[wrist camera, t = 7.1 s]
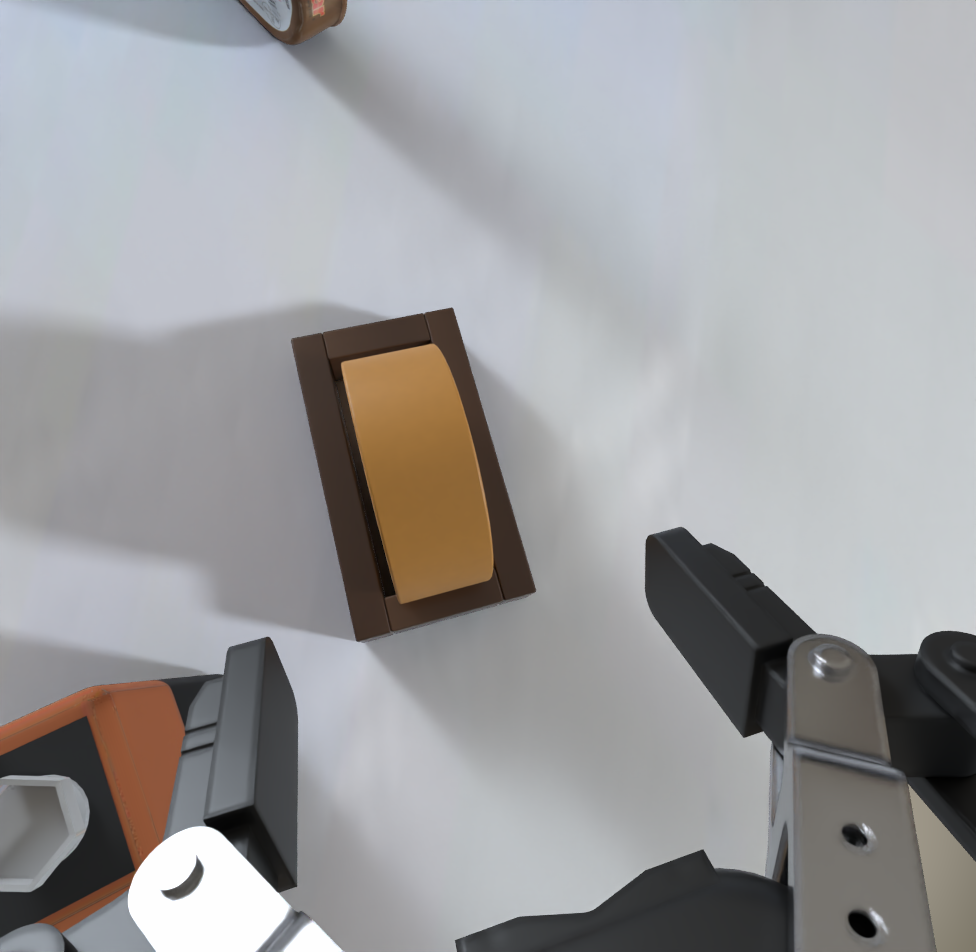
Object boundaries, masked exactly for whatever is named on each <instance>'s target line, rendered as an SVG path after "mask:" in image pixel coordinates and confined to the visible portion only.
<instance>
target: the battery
mask: <svg viewBox="0 0 976 952" xmlns="http://www.w3.org/2000/svg"><path fill="white" fill-rule="evenodd" d="M223 676H224V675H220V674H213V675H203V676H192V677H182V678H172V679H161V680H151V681H141V682H131V683H120V684H110V685H100V686H93V687H89V688H86V689H84V690H81V691H79V692H77V693H74V694H72V695H70V696H67V697H65V698H63V699H61V700H59V701H56V702H54V703H52V704H50V705H48V706H45V707H43V708H41V709H39V710H37V711H34V712H32V713H30V714H28V715H26V716H23V717H21V718H19V719H17V720H15V721H12V722H10V723H8V724H6V725H4V726H1V727H0V938H1V937H3V936H5V935H6V934H8V933H10V932H11V931H14V930H16V929H18V928H20V927H23V926H26V925H30V924H36V923H45V924H49V925H52V926H54V927H55V928H57V929H58V930H59V931H60V932H61V933H63V932H64V931H66V930H67V929H69V928H71V927H72V926H74V925H75V924H77V923H78V922H80V921H82V920H83V919H85V918H86V917H88V916H90V915H91V914H93V913H94V912H96V911H98V910H99V909H101V908H102V907H104V906H105V905H107V904H109V903H110V902H112V901H113V900H115V899H116V898H118V897H119V896H120V895H122V894H123V893H124V892H125V891H127V890H128V889H129V888H130V887H131V884H132V881H133V878H134V876H135V874H136V872H137V871H138V869H139V867H140V866H141V864H142V863H143V861H144V860H145V859H146V858H147V857H148V855H149V854H150V853H151V852H152V851H153V850H154V849H155V848H156V847H157V846H159V845H160V844H161V843H162V840H163V837H164V833H165V828H166V823H167V818H168V813H169V808H170V802H171V797H172V792H173V787H174V782H175V777H176V772H177V767H178V762H179V757H181V747H182V742H183V737H184V736H185V726H186V721H187V716H188V711H189V706H190V705H191V703H192V702H193V700H194V698H195V697H196V695H197V694H198V692H199V691H200V689H201V687H202V686H203V684H204V683H205V682H206V681H210V680H213V679H217V678H220V677H223Z"/></svg>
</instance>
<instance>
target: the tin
mask: <svg viewBox="0 0 976 952" xmlns="http://www.w3.org/2000/svg"><path fill="white" fill-rule="evenodd" d="M239 1H240V2H241V3H242V4H243V5H244V6H245V7H246V8H247V9H248V10H249V11H250V12H251V13H252V15H253V16H254V17H255V18H256V19H257V20H258V21H259V22H260V23H261V24H262V25H263V26H264V27H265V28H266V29H267V30H268V31H269V32H270V33H271V34H272V35H273V36H275V37H276V38H277V39H279V40H280V41H282V42H284V43H286V44H289V45H295V44H299V43H302V42H304V41H306V40H308V39H310V38H312V37H313V36H315V35H317V34H318V33H320V32H322V31H323V30H325V29H327V28H328V27H333V26H337V25H339V24H340V23H341V22H342V20H343V19H344V16H345V13H346V9H347V0H239Z"/></svg>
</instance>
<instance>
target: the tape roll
mask: <svg viewBox="0 0 976 952" xmlns="http://www.w3.org/2000/svg"><path fill="white" fill-rule="evenodd" d="M341 369H342V374H343V379H344V384H345V389H346V393H347V398H348V402H349V407H350V411H351V415H352V420H353V424H354V428H355V433H356V437H357V442H358V446H359V451H360V455H361V459H362V463H363V468H364V472H365V476H366V480H367V484H368V488H369V493H370V497H371V501H372V505H373V509H374V512H375V516H376V520H377V524H378V528H379V532H380V535H381V539H382V543H383V547H384V551H385V555H386V559H387V563H388V566H389V570H390V574H391V578H392V581H393V585H394V589H395V592H396V595H397V599H398V601H399V603H400V604H404V603H408V602H411V601H415V600H419V599H422V598H426V597H430V596H433V595H437V594H441V593H444V592H448V591H452V590H455V589H459V588H463V587H466V586H470V585H474V584H477V583H481V582H485V581H488V580H490V579H491V577H492V573H493V545H492V536H491V528H490V521H489V515H488V509H487V503H486V498H485V493H484V488H483V483H482V478H481V474H480V469H479V465H478V460H477V456H476V452H475V448H474V444H473V440H472V436H471V433H470V429H469V425H468V422H467V418H466V415H465V412H464V408H463V405H462V402H461V399H460V396H459V393H458V390H457V387H456V384H455V381H454V378H453V376H452V373H451V371H450V368H449V366H448V364H447V362H446V360H445V358H444V356H443V354H442V352H441V351H440V349H439V348H438V347H437V346H436V345H435V344H428V345H423V346H418V347H413V348H409V349H404V350H399V351H394V352H389V353H384V354H379V355H374V356H369V357H364V358H359V359H354V360H349V361H344V362H342V363H341Z"/></svg>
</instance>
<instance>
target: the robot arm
mask: <svg viewBox="0 0 976 952" xmlns="http://www.w3.org/2000/svg"><path fill="white" fill-rule="evenodd" d="M645 593H646V598H647V602H648V605H649V608H650V610H651V612H652V614H653V616H654V617H655V619H656V620H657V622H658V623H659V624H660V626H661V627H662V628H663V630H664V631H665V632H666V634H667V635H668V636H669V638H670V639H671V640H672V642H673V643H674V644H675V646H676V647H677V649H678V650H679V651H680V653H681V654H682V655H683V657H684V658H685V659H686V661H687V662H688V663H689V665H690V666H691V667H692V669H693V670H694V672H695V673H696V674H697V676H698V677H699V678H700V680H701V681H702V682H703V684H704V685H705V686H706V688H707V689H708V690H709V692H710V693H711V695H712V696H713V697H714V699H715V700H716V701H717V703H718V704H719V705H720V707H721V708H722V709H723V711H724V712H725V713H726V715H727V716H728V717H729V719H730V720H731V722H732V723H733V724H734V726H735V727H736V728H737V730H738V731H739V732H740V734H741V735H742V736H743V738H745V737H748V736H751V735H754V734H757V733H760V732H763V731H764V733H765V734H766V735H767V736H768V738H769V739H770V740H771V741H772V744H771V751H770V786H769V829H768V850H767V860H766V869H765V877H764V876H761V875H758V874H755V873H751V872H746V871H741V870H735V869H723V868H716V869H714V868H713V866H712V864H711V862H710V860H709V859H708V857H707V855H706V853H705V852H704V850H700V851H697V852H694V853H692V854H689V855H686V856H684V857H681V858H678V859H675V860H673V861H670V862H667V863H664V864H662V865H659V866H656V867H654V868H651V869H648V870H645V871H644V872H643V873H642V874H640V875H639V876H638V877H636V878H635V879H634V880H632V881H631V882H630V883H628V884H627V885H626V886H625V887H623V888H622V889H621V890H619V891H618V892H617V893H615V894H614V895H613V896H612V897H610V898H609V899H608V900H606V901H605V902H604V903H602V904H601V905H600V906H599V907H597V908H596V909H594V910H592V911H590V912H586V913H574V914H557V915H540V916H524V917H517V918H515V919H512V920H509V921H506V922H504V923H501V924H498V925H496V926H493V927H490V928H487V929H485V930H482V931H479V932H476V933H474V934H471V935H468V936H466V937H463V938H460V939H457V940H455V943H456V948H457V952H937V951H936V945H935V939H934V933H933V928H932V922H931V916H930V910H929V904H928V899H927V893H926V887H925V881H924V875H923V869H922V863H921V857H920V852H919V846H918V840H917V834H916V829H915V824H914V817H913V811H912V805H911V799H910V793H909V787H908V784H909V785H910V786H911V788H912V789H913V790H914V791H915V792H916V793H917V794H918V796H919V797H920V798H921V799H922V800H923V801H924V803H925V804H926V805H927V806H928V807H929V808H930V809H931V811H932V812H933V813H934V814H935V815H936V816H937V818H938V819H939V820H940V821H941V822H942V823H943V824H944V826H945V827H946V828H947V829H948V830H949V831H950V833H951V834H952V835H953V836H954V837H955V838H956V840H957V841H958V842H959V843H960V844H961V845H962V846H963V848H964V849H965V850H966V851H967V852H968V853H969V854H970V856H971V857H972V858H973V859H974V860H975V861H976V636H975V635H972V634H968V633H963V632H957V631H941V632H936V633H933V634H930V635H929V636H927V637H926V638H925V639H924V640H923V641H922V643H921V646H920V649H919V652H918V654H901V655H868V654H867V653H866V652H865V651H864V650H863V649H861V648H860V647H859V646H857V645H855V644H854V643H852V642H850V641H847V640H845V639H843V638H840V637H837V636H832V635H826V634H817V633H816V632H814V631H813V630H812V629H811V628H810V627H809V626H808V625H807V624H806V623H805V622H804V621H803V620H802V619H801V618H800V617H799V616H798V615H797V614H796V613H795V612H794V611H793V610H792V609H790V608H789V607H788V606H787V605H786V604H785V603H784V602H783V601H782V600H781V599H780V598H779V597H778V596H777V595H776V594H775V593H774V592H773V591H772V590H771V589H770V588H769V587H767V586H764V583H763V582H762V581H761V580H760V579H759V578H758V577H757V576H756V575H755V574H754V573H751V572H750V569H749V568H748V567H747V566H746V565H745V564H743V563H742V562H741V561H740V560H739V559H738V558H737V557H736V556H735V555H734V554H732V553H730V552H728V551H726V550H724V549H722V548H720V547H718V546H716V545H714V544H712V543H710V544H706V545H703V546H702V545H701V544H700V543H699V542H698V541H697V540H696V539H695V538H694V537H693V536H692V535H691V534H690V533H689V532H688V531H687V530H686V529H685V528H683V527H678V528H674V529H671V530H667V531H663V532H660V533H656V534H652V535H649V536H648V537H647V539H646V554H645ZM297 795H298V714H297V707H296V702H295V697H294V693H293V690H292V688H291V685H290V683H289V680H288V678H287V675H286V673H285V670H284V668H283V666H282V663H281V661H280V658H279V656H278V653H277V651H276V649H275V646H274V644H273V642H272V640H271V639H270V637H265V638H261V639H258V640H254V641H250V642H246V643H243V644H239V645H235V646H232V647H229V649H228V651H227V656H226V663H225V669H224V676H223V677H220V678H217V679H213V680H210V681H206V682H205V683H204V684H203V686H202V687H201V689H200V691H199V692H198V694H197V695H196V697H195V698H194V700H193V702H192V703H191V705H190V706H189V711H188V716H187V721H186V726H185V736H184V737H183V742H182V747H181V757H179V762H178V767H177V772H176V777H175V782H174V787H173V792H172V797H171V802H170V808H169V813H168V818H167V823H166V828H165V833H164V837H163V840H162V843H161V844H160V845H159V846H157V847H156V848H155V849H154V850H153V851H152V852H151V853H150V854H149V855H148V857H147V858H146V859H145V860H144V861H143V863H142V864H141V866H140V867H139V869H138V871H137V872H136V874H135V876H134V878H133V881H132V884H131V887H130V888H129V889H128V890H127V891H125V892H124V893H123V894H122V895H120V896H119V897H118V898H116V899H115V900H113V901H112V902H110V903H109V904H107V905H105V906H104V907H102V908H101V909H99V910H98V911H96V912H94V913H93V914H91V915H90V916H88V917H86V918H85V919H83V920H82V921H80V922H78V923H77V924H75V925H74V926H72V927H71V928H69V929H67V930H66V931H64V932H63V933H61V932H60V931H59V930H58V929H57V928H55V927H54V926H52V925H49V924H45V923H36V924H30V925H26V926H23V927H20V928H18V929H16V930H14V931H11V932H10V933H8V934H6V935H5V936H3V937H1V938H0V952H343V951H342V950H341V949H340V948H339V947H338V946H337V945H336V944H335V943H334V941H333V940H332V939H331V938H330V937H329V936H328V935H327V934H326V933H325V932H324V931H323V930H322V929H321V928H320V927H319V926H318V925H317V924H316V923H315V922H314V921H313V920H312V919H311V918H310V917H309V916H308V915H306V914H305V913H304V912H302V911H300V912H299V913H298V912H296V911H295V910H294V909H293V908H292V907H291V906H290V905H289V904H288V903H287V902H286V901H285V900H284V899H283V898H282V897H281V896H280V895H279V894H278V893H279V892H282V891H285V890H288V889H291V888H294V887H297Z"/></svg>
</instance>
